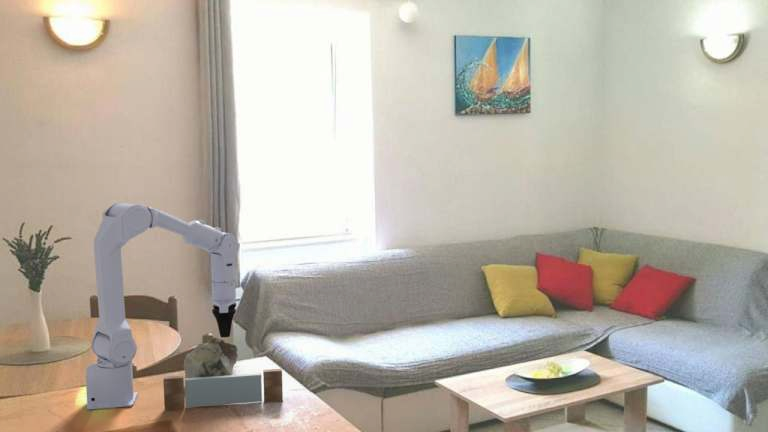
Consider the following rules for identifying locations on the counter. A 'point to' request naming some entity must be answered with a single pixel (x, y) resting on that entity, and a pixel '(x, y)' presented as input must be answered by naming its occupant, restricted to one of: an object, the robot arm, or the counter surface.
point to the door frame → (176, 389)
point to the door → (223, 390)
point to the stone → (211, 359)
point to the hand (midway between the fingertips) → (225, 334)
